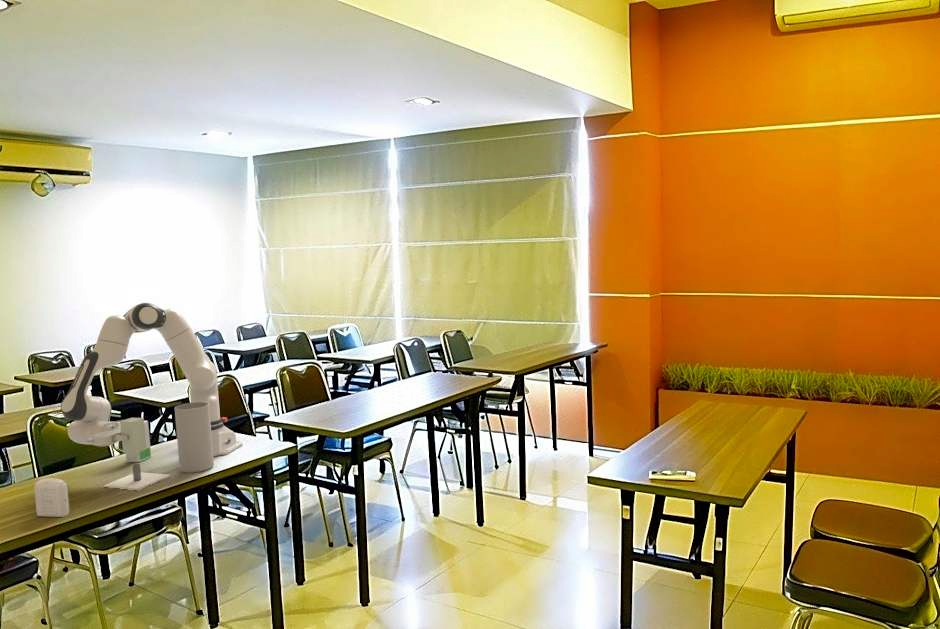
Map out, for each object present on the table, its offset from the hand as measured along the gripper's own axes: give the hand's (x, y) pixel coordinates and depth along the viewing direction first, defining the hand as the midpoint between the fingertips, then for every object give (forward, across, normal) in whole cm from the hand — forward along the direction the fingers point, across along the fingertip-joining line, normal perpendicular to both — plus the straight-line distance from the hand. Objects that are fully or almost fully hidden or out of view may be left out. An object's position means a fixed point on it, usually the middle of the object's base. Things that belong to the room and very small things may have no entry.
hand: (135, 435), depth 268 cm
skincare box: (-24, +24, +18) cm, 38 cm away
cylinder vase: (+10, +19, +18) cm, 28 cm away
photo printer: (-3, -34, +18) cm, 39 cm away
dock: (-1, 0, +18) cm, 18 cm away
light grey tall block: (-1, 0, +6) cm, 6 cm away
